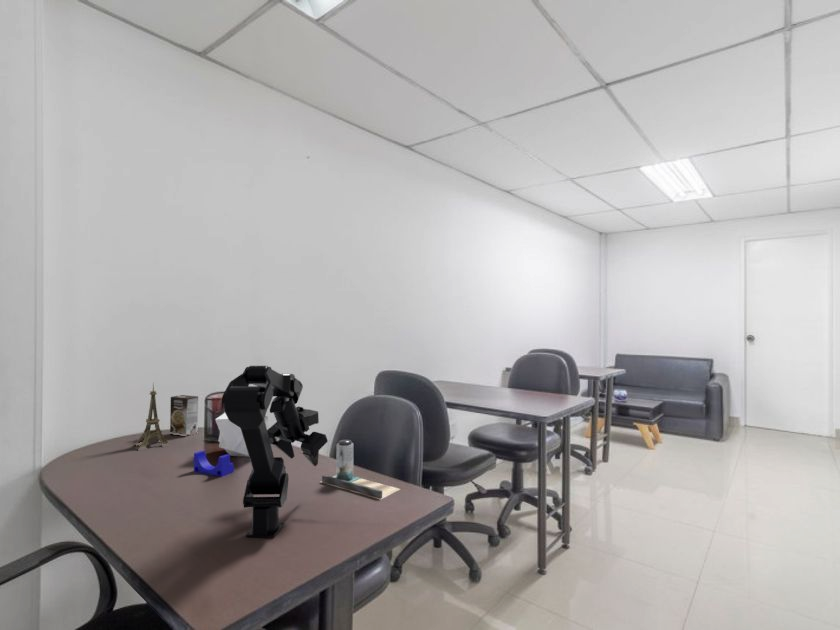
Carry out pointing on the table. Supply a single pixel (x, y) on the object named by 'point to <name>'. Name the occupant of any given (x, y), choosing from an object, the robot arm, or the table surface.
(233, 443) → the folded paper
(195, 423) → the coffee box
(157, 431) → the eiffel tower
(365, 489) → the rail board
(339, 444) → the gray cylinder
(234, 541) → the table surface
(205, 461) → the cable clip
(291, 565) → the table surface
